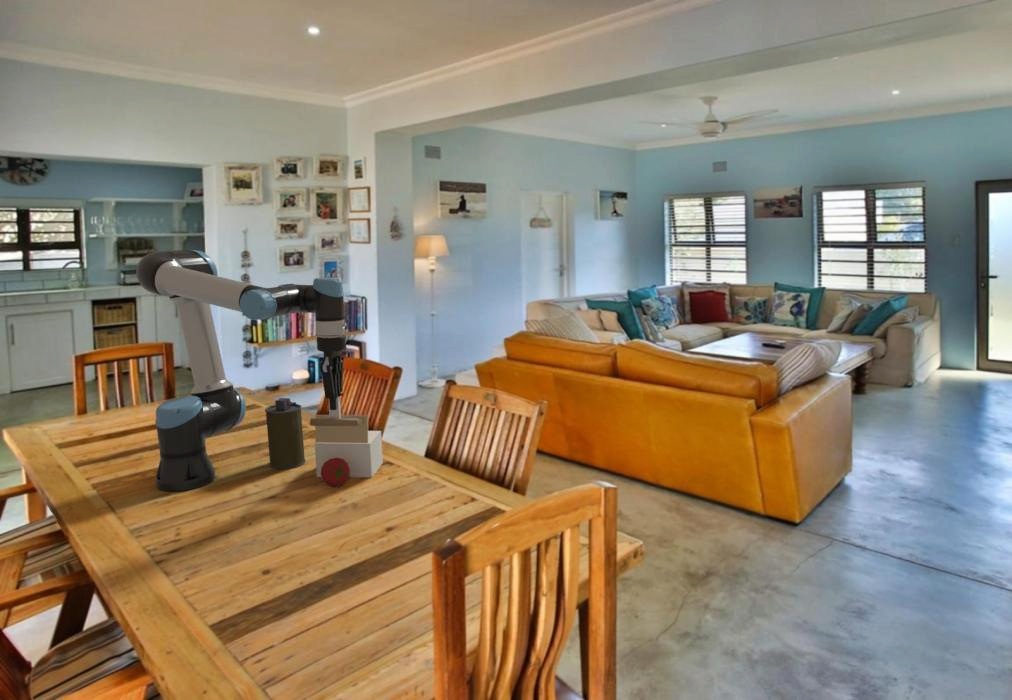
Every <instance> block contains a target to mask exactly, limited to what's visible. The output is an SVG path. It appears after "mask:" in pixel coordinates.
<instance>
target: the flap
mask: <svg viewBox="0 0 1012 700" xmlns="http://www.w3.org/2000/svg"><path fill="white" fill-rule="evenodd" d="M309 424H310V425H309V426H310V427H311V426H312V427H314V429H315V431H314V432H315V434H314V435H315V441H314V444H315V443H368V431H369V414H341V419H330V416H329V414H315V418H310V419H309Z"/></svg>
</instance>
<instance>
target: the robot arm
mask: <svg viewBox="0 0 1012 700" xmlns="http://www.w3.org/2000/svg"><path fill="white" fill-rule="evenodd" d="M135 275H136V279H137V281H138V284H139V285H140V286H141V287H142V288H143V289H144V290H146V291H147V292H149V293H151V294H156V295H159V296H162V297H167V298H168V297H169V300H170V302H172V303H174V304H175V306H176V307H177V311H178V315H179V320H180V324H181V329H182V333H183V336H184V337H183V338H184V342H185V346H186V351H187V356H188V359H189V365H190V369H191V373H192V378H193V383H194V386H193V388H192V389H191V391H190V395H184V396H180V397H174V398H171V399H170V398H169V399H168V400H165V401H163V402H162V403H160V404H158V406H157V408H156V410H155V425H156V426H155V427H156V433H157V440H158V448H159V455H160V456H159V457H160V459H159V464H158V467H157V471H156V476H155V485H156V488H157V489H158V490H160V491H163V492H183V491H189V490H194V489H197V488H201V487H203V486H206V485H208V484H210V483H212V482H214V480H215V479H216V469H215V467H214V465H213V463H212V462H211V459H210V457H209V455H208V453H207V446H206V439H207V438H210V437H213V436H215V435H217V434H221V433H223V432H227V431H229V430H231V429H233V428H234V427H237V426H239V424H240V423H242V422H243V421H242V420H244V418H245V415H246V413H247V412H246V411H247V404H246V400H245V398H244V396H243V394H241V392H240V391H239V390H237V389H235V388H234V384H233V383H232V382H231V381H229V380H228V379H227V378H226V373H225V368H224V363H223V360H222V355H221V349H220V345H219V341H218V336H217V331H216V327H215V322H214V318H213V312H212V308H211V305H213V306H217V307H221V308H224V309H228V310H232V311H236V312H239V313H242V314H243V315H244V316H245V317H246V318H247V319H249V320H251V321H259V320H260V321H263V320H265V321H266V320H268V319H272V318H276V317H282V316H286V315H292V314H297V313H299V314H300V313H307V314H309V313H310V314H314V317H315V334H316V335H317V337H316V349H317V350H318V352H322V353H323V358H322V364H320V365H319V370H320V372H321V377H322V384H323V391H324V399H328V415H329V416H330V419H341V415H342V412H341V411H342V409H341V408H342V407H341V397H343V396H344V393H343V384H344V383H343V382H344V379H343V378H344V361H345V357H344V356H341V352H342V351H345V349H346V348H347V343H346V341H347V340H346V336H345V333H346V327H347V323H346V322H345V312H344V311H345V309H344V307H345V306H344V296H345V294H344V290H343V289H344V287H343V281H342V279H341V278H339V277H332V276H331V277H316V278H314V279H313V281H312V284H294V283H285V284H283V283H282V284H279V285H278V286H274V287H263V286H258V285H254V284H250V283H246V282H242V281H239V280H234V279H231V278H227V277H223V276H218V275H219V274H218V268H217V264H215V262H214V260H213V258H212V257H210V256H209V255H208V254H206V253H205V252H203V251H202V250H194V249H180V250H178V249H177V250H165V251H164V250H160V251H159V250H158V251H153V252H152V251H151V252H150V253H148V254H145V255H144V256H143V257H142V258H141V259H140V260H139V261H138V263H137V266H136V270H135Z"/></svg>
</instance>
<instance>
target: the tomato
mask: <svg viewBox="0 0 1012 700" xmlns="http://www.w3.org/2000/svg"><path fill="white" fill-rule="evenodd" d="M349 475H350V469H349V466H348V463H347V462H346V461H345V460H344V459H341V458H332V459H329V460H328V461H326V462H325V463H324V464H323V466H322V468H321V476H322V477H321V479H322V481H323V482H324V484H326V485H327V486H328V487H333V488H336V487H340V486H342V485H343V484H345V483H346V482H347V481H348V479H349V478H350V477H349Z"/></svg>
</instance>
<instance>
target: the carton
mask: <svg viewBox="0 0 1012 700" xmlns="http://www.w3.org/2000/svg"><path fill="white" fill-rule="evenodd" d="M382 440H383V437H382V430H368V443H315V442H314V450H315V451H314V452H315V453H314V455H315V468H316V477H321V478H322V476H321V468H322V466H323V464H324V463H325V462H326V461H328V460H329V459H332V458H341V459H344V460H345V461H346V462H347V463H348V466H349V469H350V475H349V478H373V477H374V475H375V474H376V472H377V471H378V470H379V468H380V467H381V466H382V464H384V462H383V441H382Z"/></svg>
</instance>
